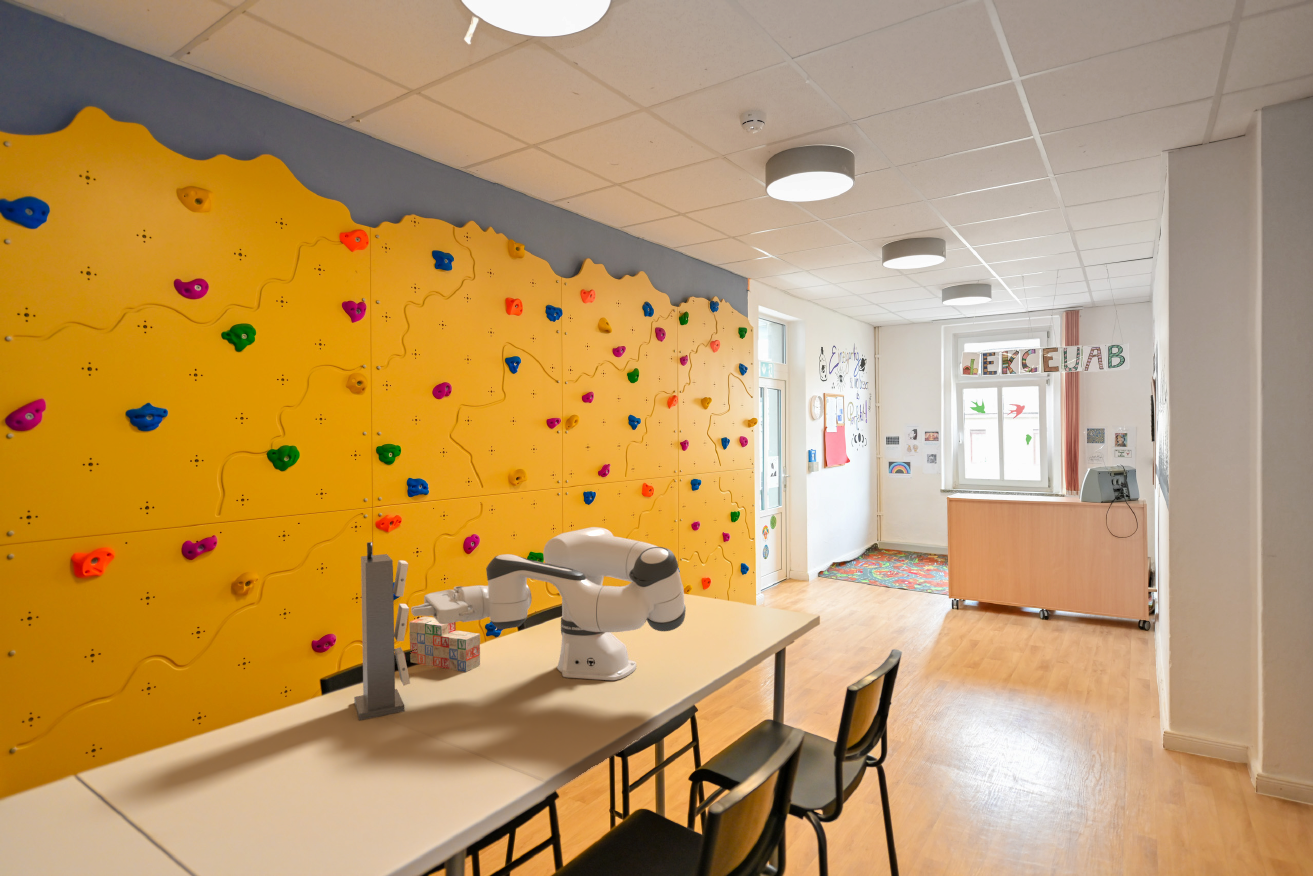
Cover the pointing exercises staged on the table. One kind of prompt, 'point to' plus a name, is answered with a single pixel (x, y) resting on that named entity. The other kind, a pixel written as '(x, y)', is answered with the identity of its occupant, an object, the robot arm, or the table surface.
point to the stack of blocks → (443, 645)
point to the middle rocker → (401, 622)
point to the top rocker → (400, 578)
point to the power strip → (377, 639)
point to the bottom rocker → (402, 666)
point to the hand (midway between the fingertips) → (412, 611)
